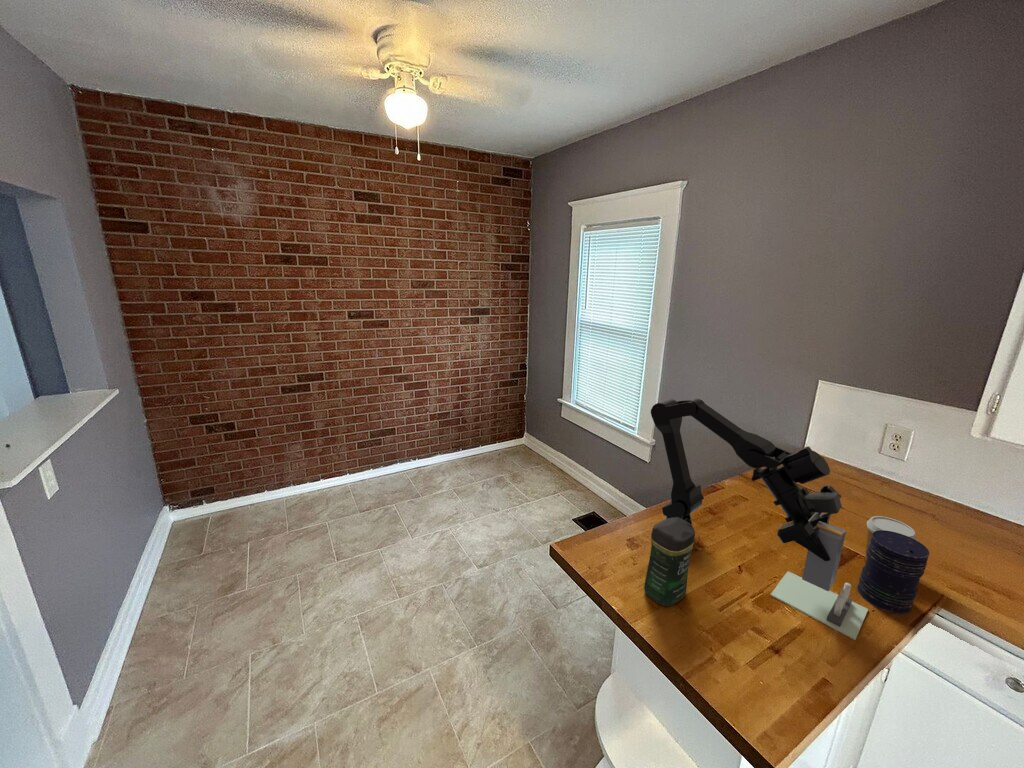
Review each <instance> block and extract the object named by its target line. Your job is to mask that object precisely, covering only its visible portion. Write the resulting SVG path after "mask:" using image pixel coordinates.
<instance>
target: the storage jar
mask: <svg viewBox="0 0 1024 768" xmlns="http://www.w3.org/2000/svg"><path fill="white" fill-rule="evenodd" d="M929 557H930V551H929V548H928V547H927V546H925V545H924V544H923V543H921V542H920V541H918V540H917V539H916V540H915V539H913V538H910V537H908V536H905V535H903V534H900V533H896V532H892V531H886V530H878V531H875V532H873V534H872V538H871V541H870V543H869V546H868V550H867V560H866V563H865V562H864V566H863V567H862V569H861V572H860V574H859V580H858V584H857V592H858V594H859V595H860V596H861V597H862V599H864V600H865V602H868V603H869V604H870V605H872V606H873V607H876V608H878V609H880V610H883V611H886V612H888V613H891V614H894V615H896V614H897V615H907V614H909V613H911V611H912V607H913V604H914V603H915V602H916V598H917V594H918V585H919V583H920V579H921V578H922V577H923V575H924V574H925V570H926V568H927V564H928V561H929Z"/></svg>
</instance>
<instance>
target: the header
mask: <svg viewBox="0 0 1024 768" xmlns="http://www.w3.org/2000/svg"><path fill="white" fill-rule="evenodd" d="M802 577H803V576H799V575H797V574H795V573H793V572H791V571H789V570H788V571H786V573H785V574H784V576H783V577H782V578H781V580H780V581H779V582H778V583H777V585H776V586H775V588H774V589H773V590H772V592H771V593H770V595H769V596H771V597H773V598H774V599H777V600H778V601H780V602H782V603H784V604H785V605H787V606H789V607H792V608H793V609H795V610H798V611H799V612H801V613H803V614H804V615H806V616H809V617H810V618H813V619H815V620H816V621H818V622H819V623H822V624H824V625H825V626H828V627H829V628H831V629H833V630H834V631H837V632H838V633H841V634H842V635H845V636H847V637H848V638H851V639H852V640H854V641H856V639H857V638H858V636H859V635H858V634H859V633H860V630H861V628H862V626H863V623H864V621H865V618H866V616H867V614H868V611H869V608H867V607H864V606H863V605H860V604H858V603H856V602H854V601H853V599H852V598H851V597H850V593H851V589H852V584H851V583H849V582H845V583H844V584H843V588H841V589H840V593H835V592H833V591H832V590H829V591H826V590H824V589H822V588H820V587H817V586H815V585H813V584H811V583H809V582H807V581H805V580H802Z"/></svg>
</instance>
